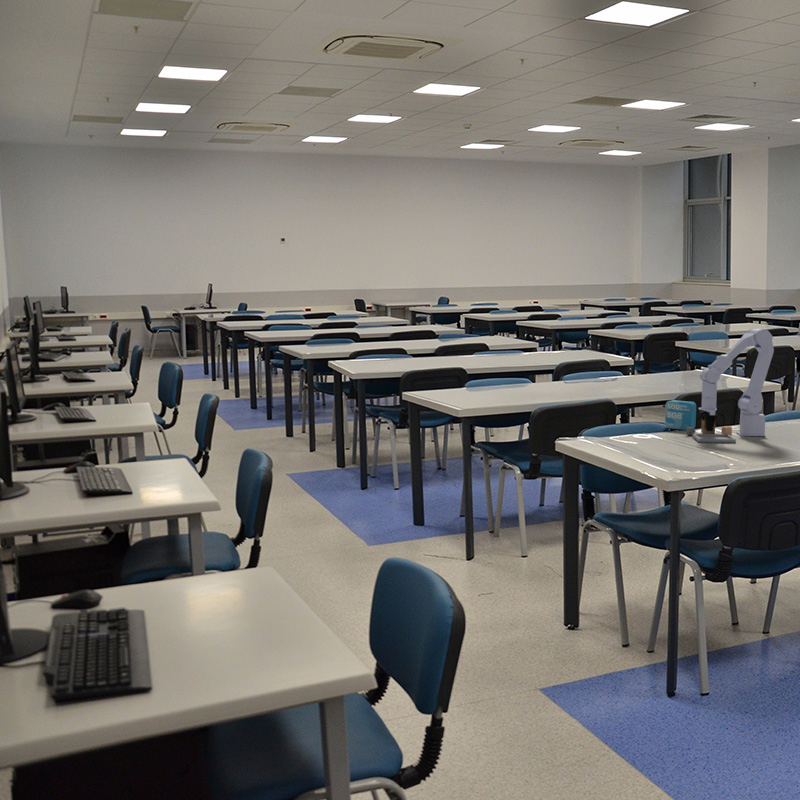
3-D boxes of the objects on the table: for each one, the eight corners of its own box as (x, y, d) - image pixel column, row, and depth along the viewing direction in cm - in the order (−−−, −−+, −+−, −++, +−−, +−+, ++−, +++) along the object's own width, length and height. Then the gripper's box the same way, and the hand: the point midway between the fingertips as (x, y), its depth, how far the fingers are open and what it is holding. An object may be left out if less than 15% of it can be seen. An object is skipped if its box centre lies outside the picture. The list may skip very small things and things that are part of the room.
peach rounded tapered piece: (730, 435, 343) (730, 426, 343) (732, 437, 340) (733, 427, 339) (720, 435, 344) (720, 426, 344) (722, 437, 340) (722, 427, 340)
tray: (728, 437, 339) (728, 434, 339) (735, 443, 327) (735, 439, 327) (692, 437, 341) (692, 433, 341) (698, 442, 329) (698, 438, 329)
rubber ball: (693, 434, 347) (694, 426, 347) (695, 436, 344) (695, 427, 343) (685, 434, 348) (685, 426, 347) (686, 435, 344) (686, 427, 344)
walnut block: (712, 432, 347) (712, 419, 346) (714, 434, 342) (715, 421, 341) (701, 432, 347) (701, 419, 346) (703, 434, 343) (703, 421, 342)
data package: (664, 427, 365) (665, 400, 364) (669, 426, 368) (670, 399, 367) (690, 430, 357) (691, 403, 355) (695, 429, 360) (696, 402, 358)
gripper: (695, 395, 350) (694, 426, 352) (702, 399, 336) (701, 432, 338) (712, 395, 349) (711, 427, 351) (721, 399, 335) (719, 432, 337)
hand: (708, 429), depth 344 cm, fingers closed on walnut block, 4 cm apart
